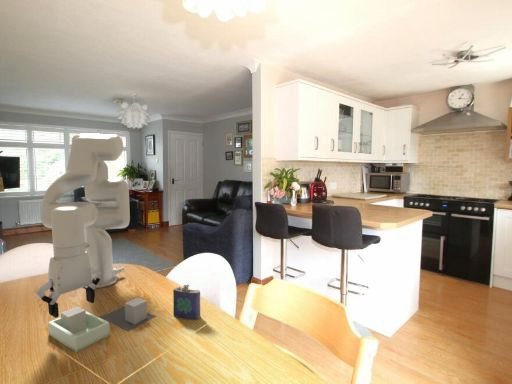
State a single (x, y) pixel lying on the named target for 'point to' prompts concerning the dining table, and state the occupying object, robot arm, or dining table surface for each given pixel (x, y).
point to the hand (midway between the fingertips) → (73, 308)
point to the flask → (186, 303)
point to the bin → (84, 338)
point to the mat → (119, 319)
